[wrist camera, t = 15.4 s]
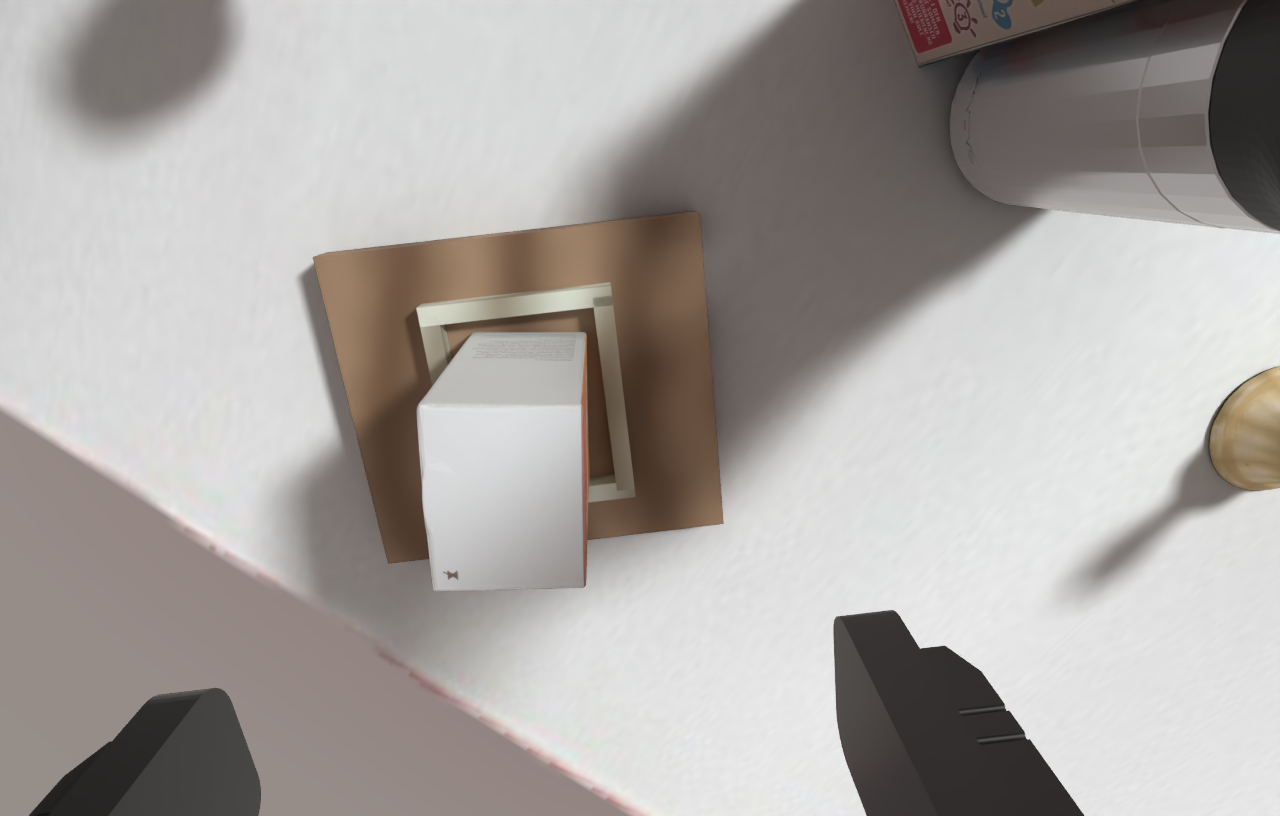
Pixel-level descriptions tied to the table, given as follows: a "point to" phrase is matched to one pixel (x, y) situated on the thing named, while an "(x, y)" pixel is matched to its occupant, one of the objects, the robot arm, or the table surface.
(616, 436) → the base board
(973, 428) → the table surface
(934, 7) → the juice carton
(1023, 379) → the table surface
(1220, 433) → the hand bell
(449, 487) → the small box
